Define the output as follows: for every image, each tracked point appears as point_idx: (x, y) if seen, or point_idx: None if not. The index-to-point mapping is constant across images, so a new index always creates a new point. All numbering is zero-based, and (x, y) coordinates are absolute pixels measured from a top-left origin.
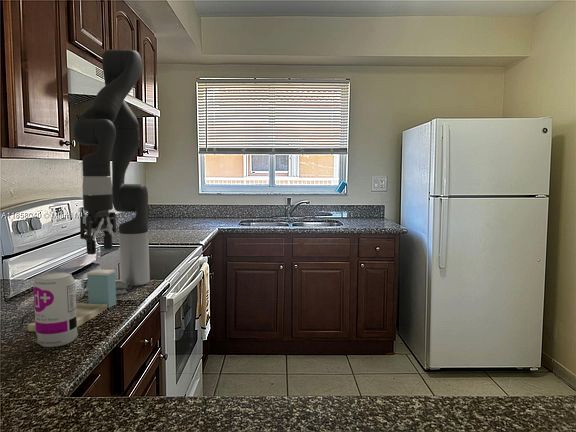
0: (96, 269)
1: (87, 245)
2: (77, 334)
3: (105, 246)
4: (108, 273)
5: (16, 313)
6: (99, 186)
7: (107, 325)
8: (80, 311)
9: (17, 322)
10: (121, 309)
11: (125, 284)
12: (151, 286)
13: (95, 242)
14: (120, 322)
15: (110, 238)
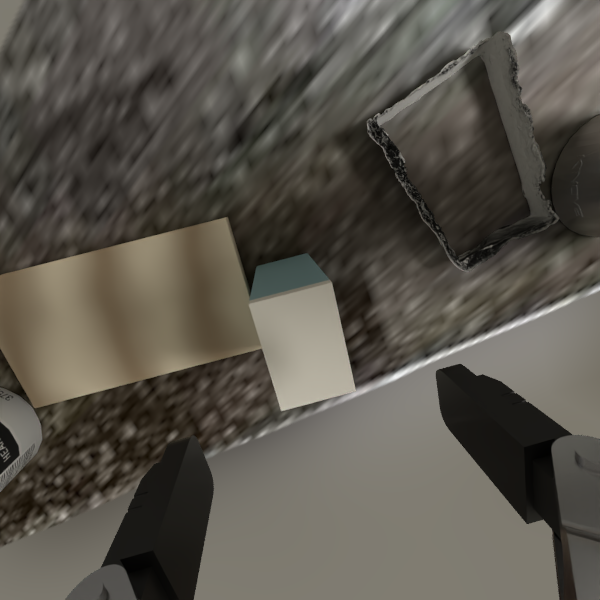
0: (331, 293)
1: (124, 534)
2: (35, 454)
3: (449, 388)
4: (291, 405)
5: (68, 37)
6: None
7: (154, 442)
8: (161, 329)
9: (7, 157)
10: None
11: (537, 193)
12: (559, 277)
13: (192, 592)
14: None
15: (506, 496)
